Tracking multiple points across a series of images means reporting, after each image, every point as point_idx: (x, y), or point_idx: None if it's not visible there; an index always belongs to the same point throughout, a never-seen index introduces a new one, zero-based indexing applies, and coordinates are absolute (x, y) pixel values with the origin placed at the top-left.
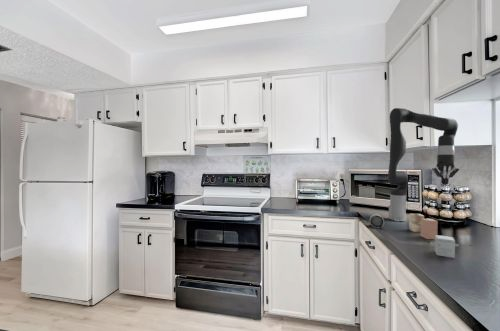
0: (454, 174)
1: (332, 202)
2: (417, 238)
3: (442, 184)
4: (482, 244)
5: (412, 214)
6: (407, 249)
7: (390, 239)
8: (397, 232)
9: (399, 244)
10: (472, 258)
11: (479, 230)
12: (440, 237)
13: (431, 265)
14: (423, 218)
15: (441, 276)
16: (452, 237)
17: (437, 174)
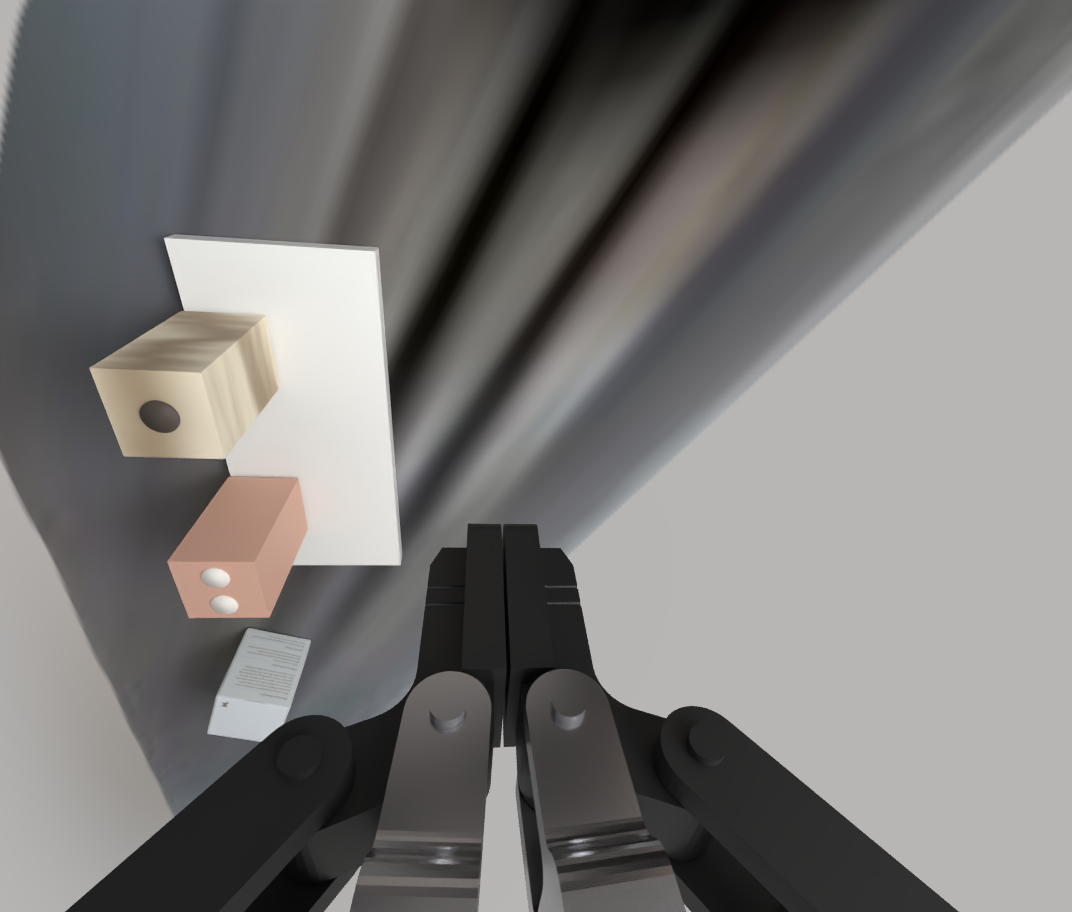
0: (775, 904)
1: None
2: (217, 461)
3: (468, 527)
4: (559, 504)
5: (114, 420)
6: (122, 630)
7: (34, 509)
8: (88, 333)
9: (87, 578)
10: (369, 666)
11: (899, 125)
12: (225, 725)
13: (185, 734)
14: (185, 563)
15: (192, 779)
16: (286, 712)
17: (213, 851)
